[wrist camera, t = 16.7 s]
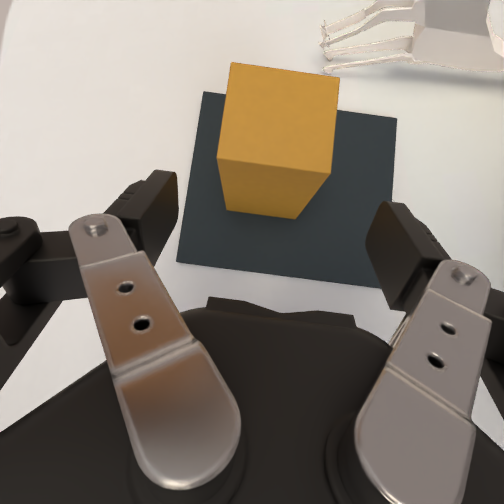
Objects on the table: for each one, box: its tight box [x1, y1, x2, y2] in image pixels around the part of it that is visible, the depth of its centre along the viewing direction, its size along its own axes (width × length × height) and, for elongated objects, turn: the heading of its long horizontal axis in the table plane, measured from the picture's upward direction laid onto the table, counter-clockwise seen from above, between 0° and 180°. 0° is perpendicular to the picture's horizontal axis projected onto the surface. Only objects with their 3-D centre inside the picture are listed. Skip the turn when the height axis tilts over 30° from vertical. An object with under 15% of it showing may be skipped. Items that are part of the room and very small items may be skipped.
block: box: [217, 62, 340, 219], centre depth 18 cm, size 5×5×9 cm
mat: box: [176, 91, 397, 288], centre depth 23 cm, size 16×14×1 cm
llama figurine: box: [319, 0, 504, 74], centre depth 22 cm, size 2×11×18 cm
